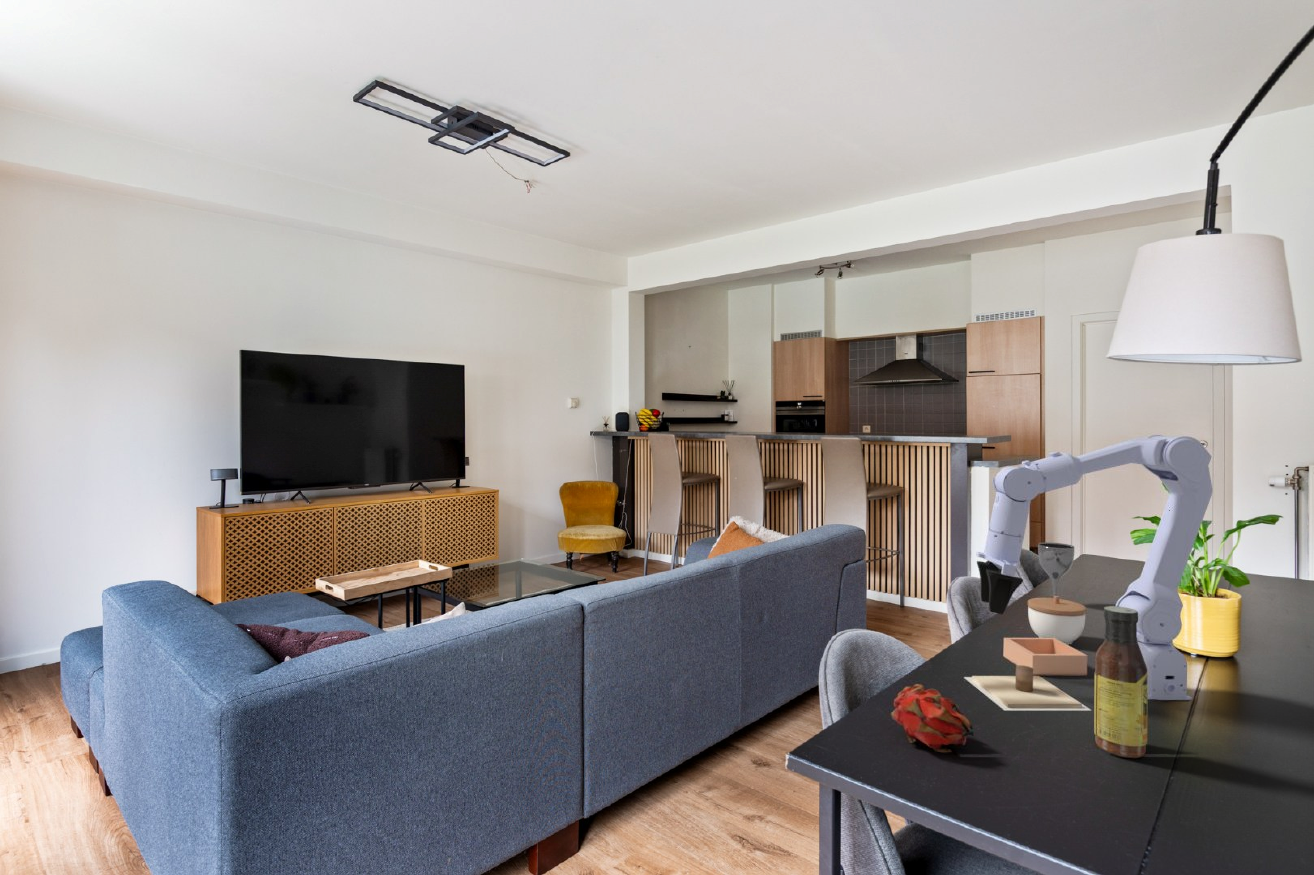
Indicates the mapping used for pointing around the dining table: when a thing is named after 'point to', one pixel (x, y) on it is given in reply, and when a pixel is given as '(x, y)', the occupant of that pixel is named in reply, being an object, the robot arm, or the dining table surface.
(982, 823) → the dining table surface
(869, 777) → the dining table surface
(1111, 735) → the sauce bottle
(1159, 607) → the robot arm
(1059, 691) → the birch lid
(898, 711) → the dragon fruit
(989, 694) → the grey mat
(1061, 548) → the wine glass
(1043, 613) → the lidded jar
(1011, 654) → the terracotta tray
